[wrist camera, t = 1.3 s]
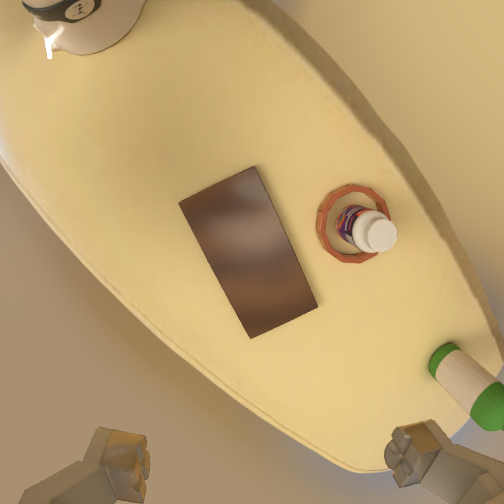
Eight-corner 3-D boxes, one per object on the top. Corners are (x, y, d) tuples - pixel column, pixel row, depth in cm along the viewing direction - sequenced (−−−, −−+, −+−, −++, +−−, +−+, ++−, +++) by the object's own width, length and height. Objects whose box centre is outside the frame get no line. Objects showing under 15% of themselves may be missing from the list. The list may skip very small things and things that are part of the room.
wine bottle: (445, 375, 54) (529, 462, 25) (420, 374, 53) (508, 473, 24) (461, 343, 52) (557, 423, 23) (437, 339, 51) (540, 431, 22)
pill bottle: (351, 196, 44) (383, 203, 34) (375, 221, 45) (409, 233, 35) (327, 225, 44) (354, 238, 35) (352, 249, 45) (382, 267, 36)
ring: (304, 204, 43) (308, 205, 41) (369, 174, 43) (375, 174, 41) (332, 272, 46) (336, 275, 44) (393, 240, 46) (398, 243, 44)
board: (179, 202, 42) (178, 203, 41) (253, 165, 41) (254, 165, 40) (249, 336, 47) (250, 339, 46) (316, 304, 47) (318, 307, 46)
